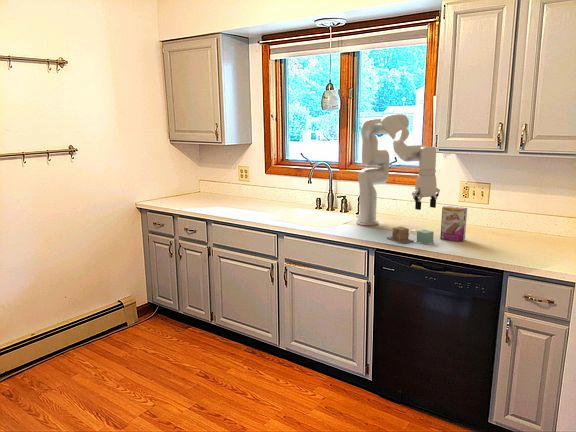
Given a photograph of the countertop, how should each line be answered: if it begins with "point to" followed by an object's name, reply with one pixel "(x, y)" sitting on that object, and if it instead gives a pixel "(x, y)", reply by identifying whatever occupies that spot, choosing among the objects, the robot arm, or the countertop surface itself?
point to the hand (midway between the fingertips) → (425, 208)
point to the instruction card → (411, 229)
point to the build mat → (401, 241)
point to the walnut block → (400, 233)
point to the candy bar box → (453, 223)
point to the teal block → (425, 236)
